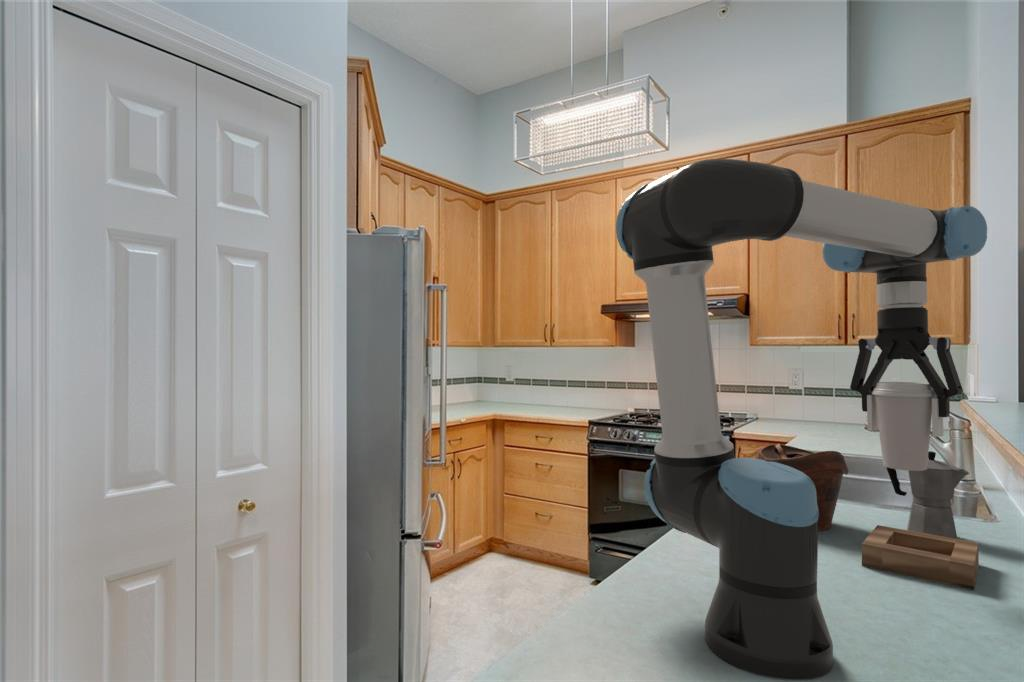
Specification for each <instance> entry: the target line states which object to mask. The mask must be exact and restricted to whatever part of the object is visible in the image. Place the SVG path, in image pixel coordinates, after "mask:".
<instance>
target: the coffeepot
mask: <svg viewBox="0 0 1024 682" xmlns="http://www.w3.org/2000/svg"><path fill="white" fill-rule="evenodd" d="M936 454H937V452H935V451H931V450H930V451H929V452H928V464H927V470H924V471H907V472H908V478H909V484H910V488H911V494H912V503H911V507H910V511H909V512H910V513H909V516H908V518H909V519H908V523H907V528H906V530H909V531H914V532H920V533H926V534H932V535H937V536H943V537H949V538H955V539H958V535H957V534H958V533H957V529H956V524H955V517H954V513H953V509H952V500H953V498H954V494H955V489H956V488H957V486H958V485H959V483H960V482H961V481H962V480H963V478H965V477H966V476H968V475H970V472H969V471H968V470H965V469H963V468H961V467H958V466H956V465H952V464H949V463H945V462H942V461H939V460H936V456H937V455H936ZM885 469H886V471H887V473H888V476H889V480H890V482H891V485H892V487H893V491H894V492H895V494H896V495H898V496H902V497H905V496H906V495H907V494H908V493H907V491H904V490H901V484H900V483H901V482H900V480H899V478H898V474H897V469H892V468H888V467H885Z"/></svg>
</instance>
